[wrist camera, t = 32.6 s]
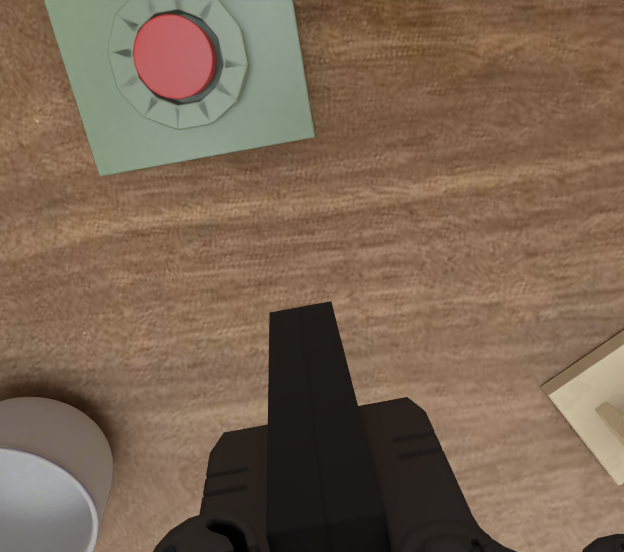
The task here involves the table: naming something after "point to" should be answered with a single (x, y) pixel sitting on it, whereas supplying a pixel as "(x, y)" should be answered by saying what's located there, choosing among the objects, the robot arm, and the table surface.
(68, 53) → the control block
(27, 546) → the teacup
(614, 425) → the bracket
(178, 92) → the button
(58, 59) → the table surface
